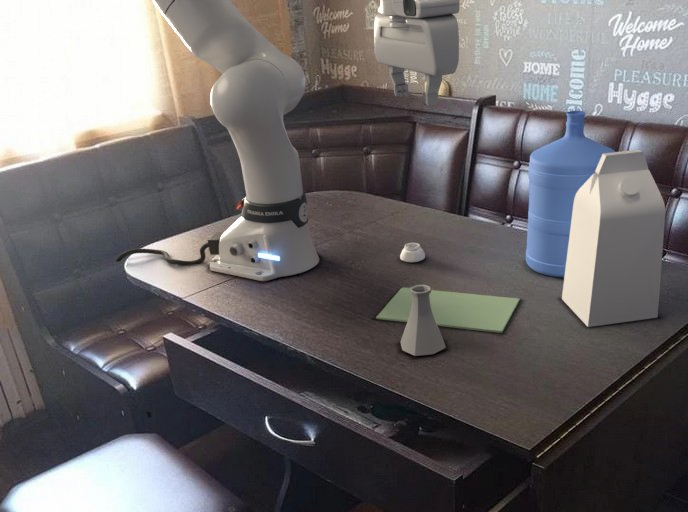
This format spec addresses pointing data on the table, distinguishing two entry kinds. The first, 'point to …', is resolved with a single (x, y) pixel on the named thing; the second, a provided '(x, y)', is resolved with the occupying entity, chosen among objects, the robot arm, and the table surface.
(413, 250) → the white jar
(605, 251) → the milk
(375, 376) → the table surface
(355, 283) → the table surface
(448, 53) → the robot arm
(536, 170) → the water jug
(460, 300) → the placemat
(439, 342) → the flask
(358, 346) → the table surface
